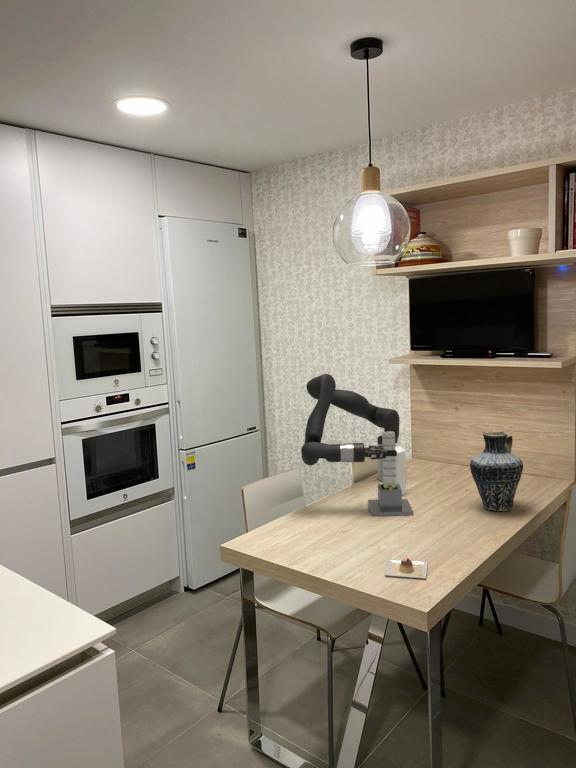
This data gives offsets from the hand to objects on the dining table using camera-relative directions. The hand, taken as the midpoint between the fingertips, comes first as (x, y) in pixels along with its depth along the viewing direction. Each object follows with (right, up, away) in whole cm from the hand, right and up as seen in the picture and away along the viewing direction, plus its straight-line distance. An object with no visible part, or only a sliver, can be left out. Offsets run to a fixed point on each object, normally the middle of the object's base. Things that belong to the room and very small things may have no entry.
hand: (395, 451), depth 239 cm
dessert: (-6, -31, -54) cm, 62 cm away
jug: (+39, -22, 0) cm, 45 cm away
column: (-2, -14, +2) cm, 15 cm away
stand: (-2, -23, +3) cm, 23 cm away
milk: (+4, -21, +22) cm, 31 cm away
